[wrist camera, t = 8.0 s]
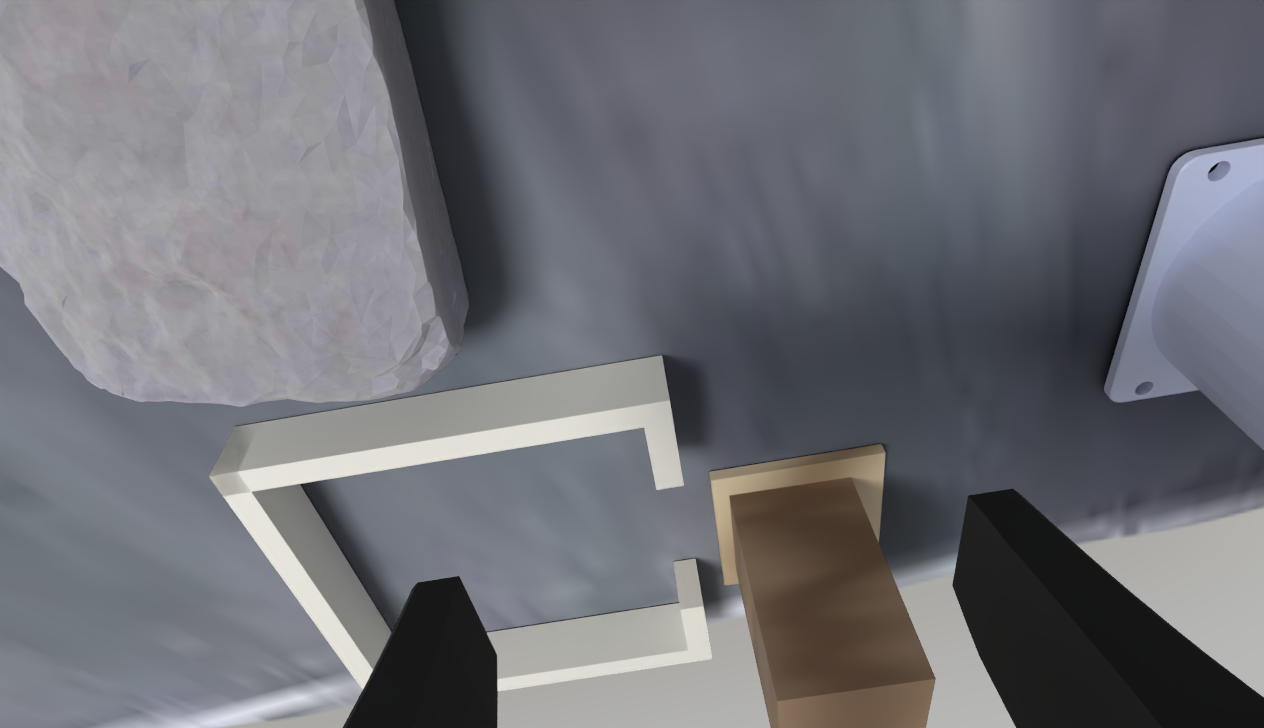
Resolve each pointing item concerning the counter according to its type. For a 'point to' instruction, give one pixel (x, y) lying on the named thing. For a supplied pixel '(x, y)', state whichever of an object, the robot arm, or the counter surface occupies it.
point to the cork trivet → (853, 463)
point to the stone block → (226, 198)
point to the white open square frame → (446, 429)
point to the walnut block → (826, 612)
